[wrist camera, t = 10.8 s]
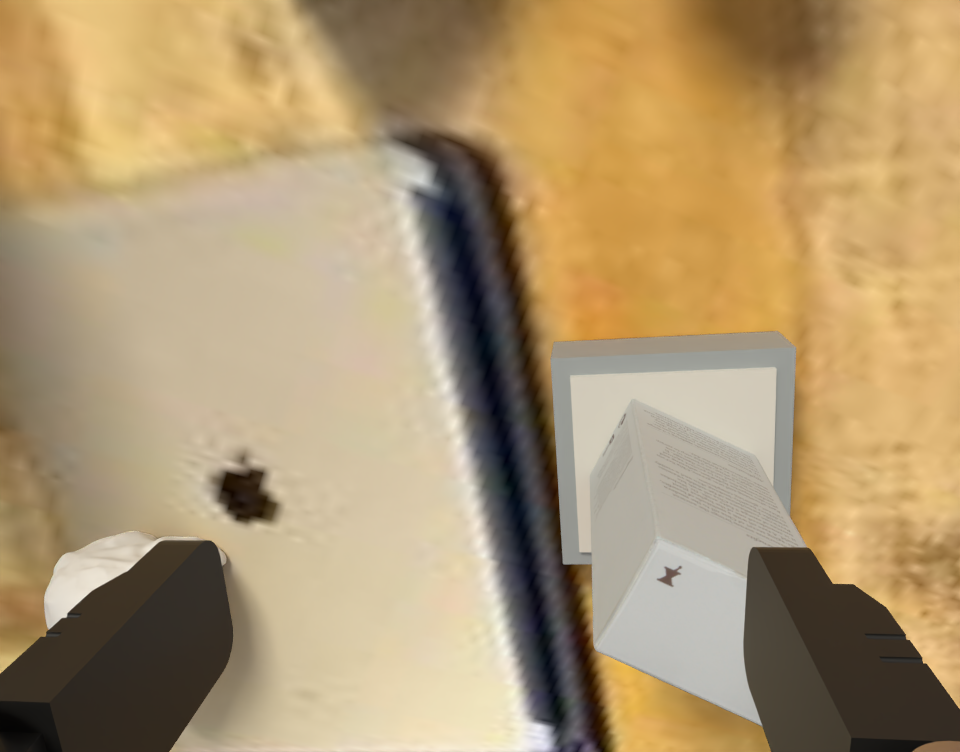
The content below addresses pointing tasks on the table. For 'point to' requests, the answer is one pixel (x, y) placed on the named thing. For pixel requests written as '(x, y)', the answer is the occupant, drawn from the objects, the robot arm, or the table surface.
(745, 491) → the skincare box
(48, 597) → the white rounded figure
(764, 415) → the plinth
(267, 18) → the table surface
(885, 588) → the table surface
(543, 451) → the table surface
